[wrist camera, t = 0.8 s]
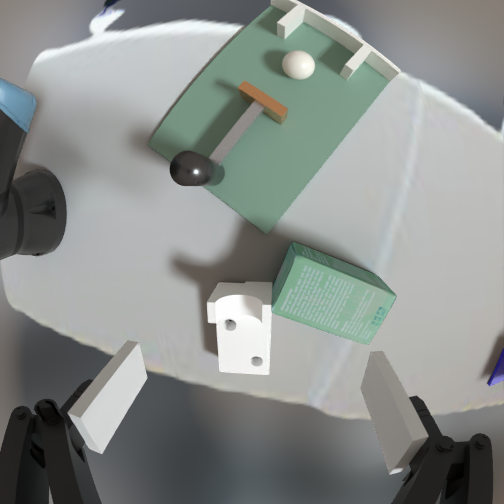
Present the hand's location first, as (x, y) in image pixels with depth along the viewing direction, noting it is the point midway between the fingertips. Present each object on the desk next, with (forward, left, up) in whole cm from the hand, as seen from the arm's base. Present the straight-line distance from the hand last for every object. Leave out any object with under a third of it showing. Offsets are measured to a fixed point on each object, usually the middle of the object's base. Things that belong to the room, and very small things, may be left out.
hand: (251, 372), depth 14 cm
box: (+8, +3, -23) cm, 24 cm away
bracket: (+3, -9, -23) cm, 25 cm away
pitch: (-12, +17, -22) cm, 31 cm away
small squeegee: (-12, +10, -21) cm, 27 cm away
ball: (-12, +23, -20) cm, 32 cm away
